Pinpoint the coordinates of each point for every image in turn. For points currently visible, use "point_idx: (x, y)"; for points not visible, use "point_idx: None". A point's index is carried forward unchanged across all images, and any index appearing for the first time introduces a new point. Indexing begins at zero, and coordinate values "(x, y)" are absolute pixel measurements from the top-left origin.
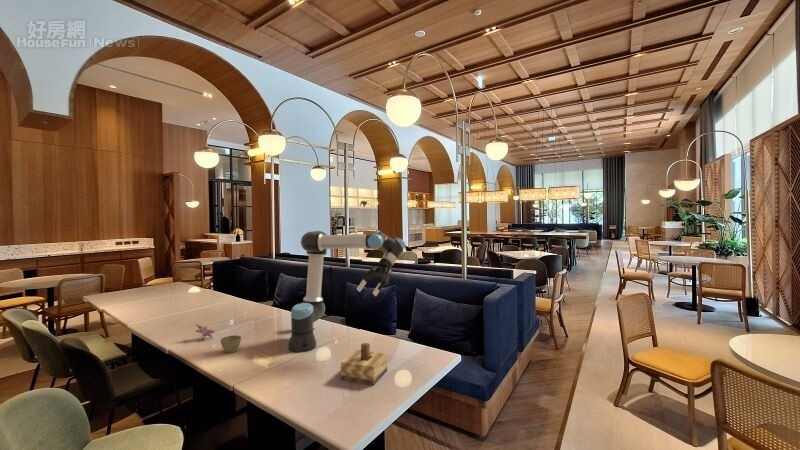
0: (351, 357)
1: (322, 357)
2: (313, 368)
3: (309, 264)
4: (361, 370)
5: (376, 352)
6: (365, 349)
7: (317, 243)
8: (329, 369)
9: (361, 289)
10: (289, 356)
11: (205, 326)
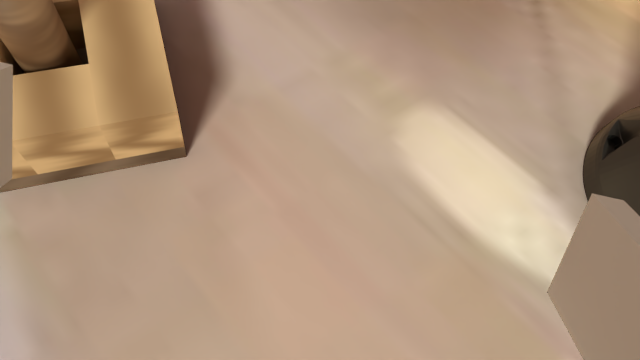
0: (123, 4)
1: (442, 145)
2: (366, 28)
3: None
4: None
5: (12, 140)
6: None
7: None
8: (288, 56)
9: (574, 329)
10: (589, 68)
11: None
